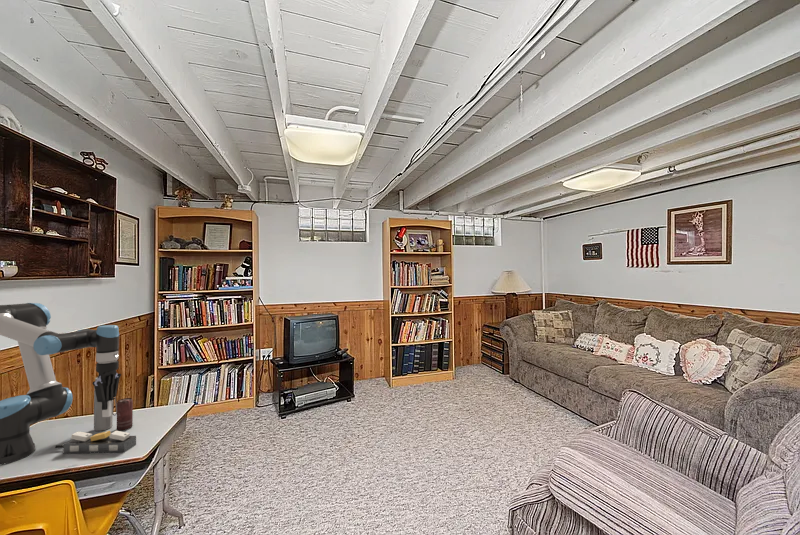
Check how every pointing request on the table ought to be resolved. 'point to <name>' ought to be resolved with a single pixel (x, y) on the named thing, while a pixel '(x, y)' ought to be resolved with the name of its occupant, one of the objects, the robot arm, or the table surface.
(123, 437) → the rocker
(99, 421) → the water bottle
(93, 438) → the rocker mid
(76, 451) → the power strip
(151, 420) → the table surface
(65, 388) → the robot arm
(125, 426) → the can
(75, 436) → the rocker
